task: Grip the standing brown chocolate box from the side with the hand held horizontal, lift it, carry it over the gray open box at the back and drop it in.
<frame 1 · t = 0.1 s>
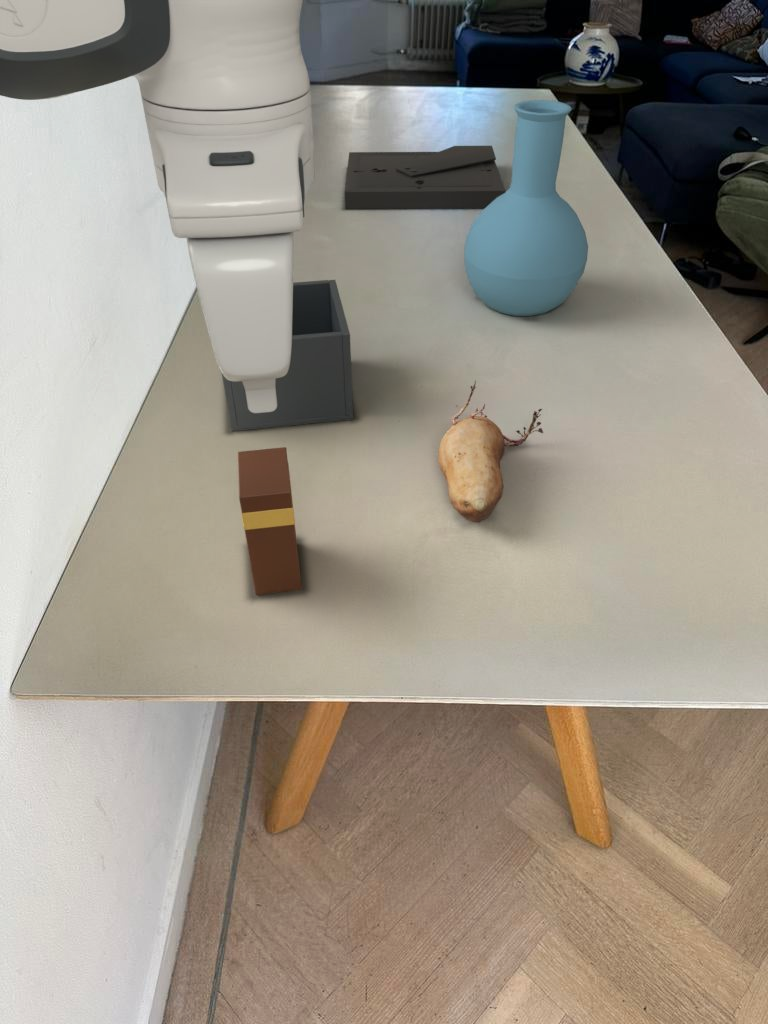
hand: (260, 368, 51), 22 cm above the table, tool pointing down, fingers open, 8 cm apart
vase: (519, 301, 108), on the table
chocolate box: (276, 568, 68), on the table
vegetable: (491, 488, 76), on the table
gray open box: (288, 393, 90), on the table
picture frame: (422, 188, 145), on the table
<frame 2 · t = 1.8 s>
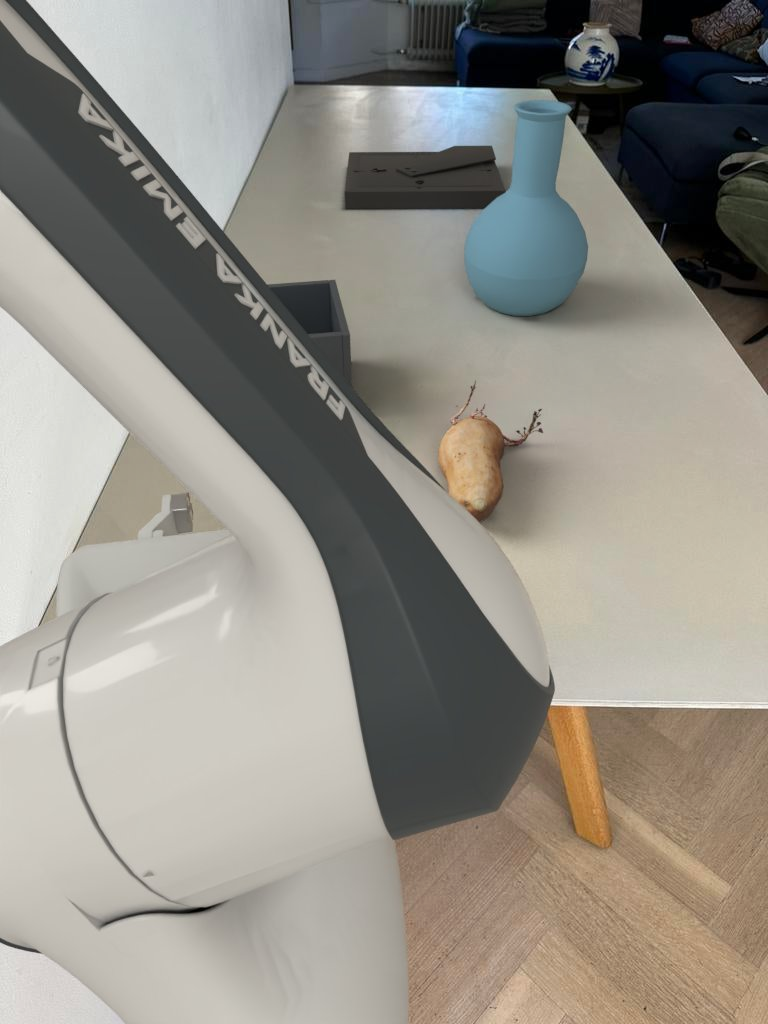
hand: (258, 493, 45), 19 cm above the table, tool horizontal, fingers open, 8 cm apart
nothing on the table moved.
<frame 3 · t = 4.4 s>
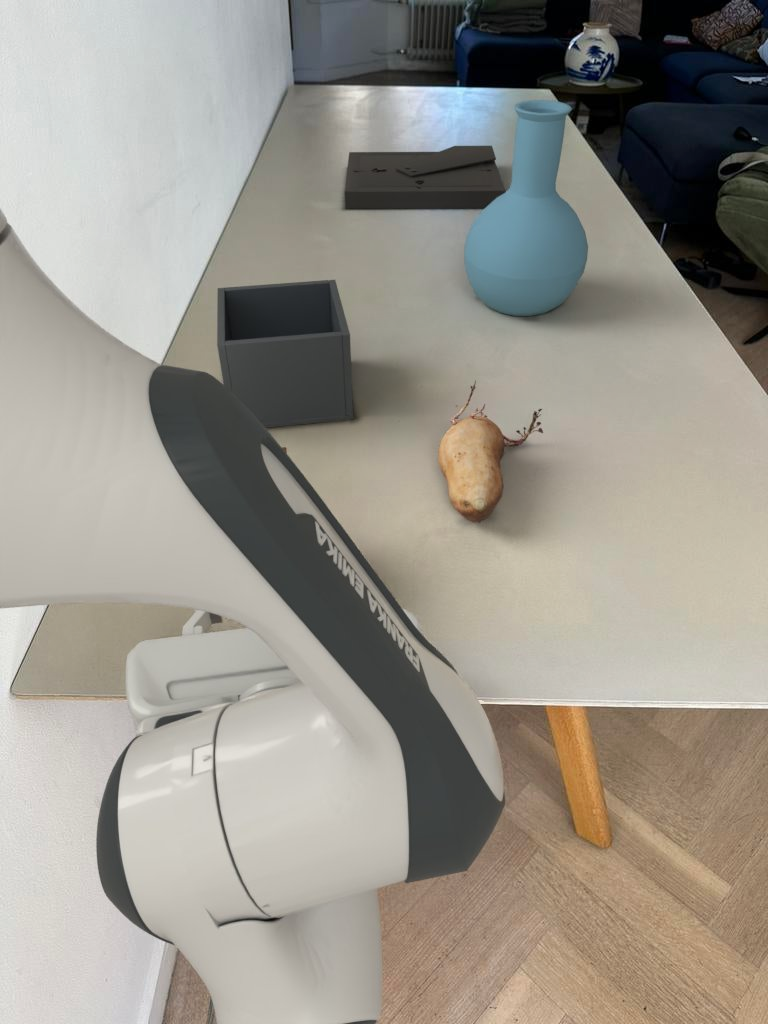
hand: (274, 590, 58), 6 cm above the table, tool horizontal, fingers open, 8 cm apart
nothing on the table moved.
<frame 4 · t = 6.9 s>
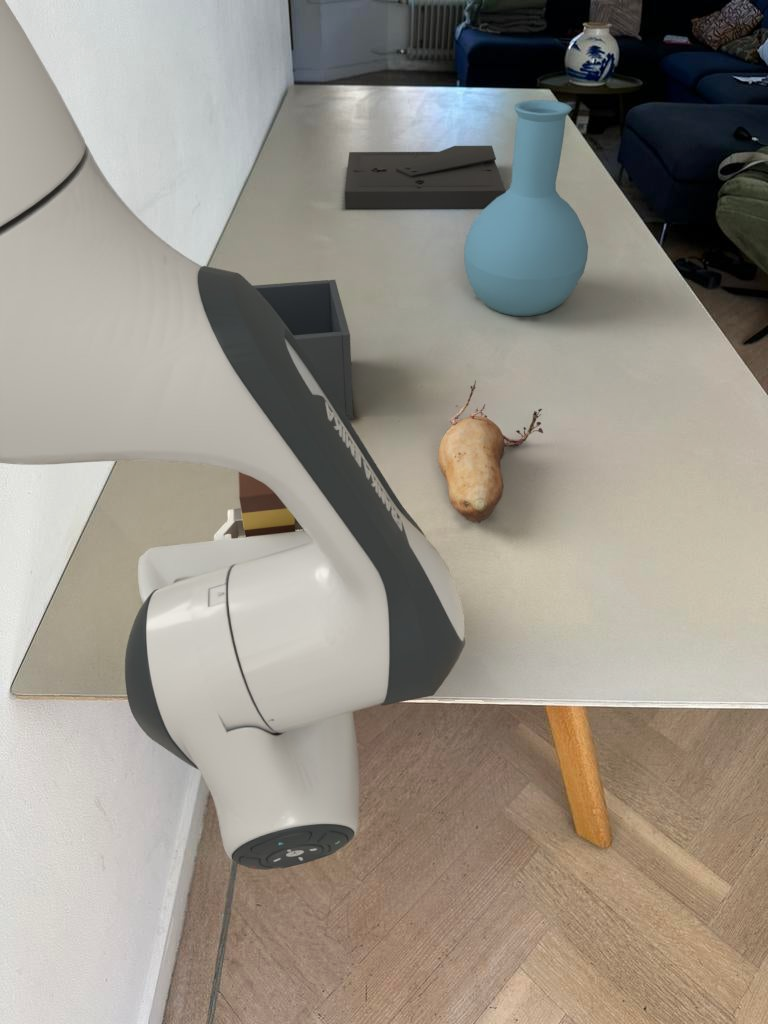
hand: (269, 510, 64), 6 cm above the table, tool horizontal, fingers closed on chocolate box, 4 cm apart
chocolate box: (277, 568, 68), on the table, touching gripper
everything else where it was.
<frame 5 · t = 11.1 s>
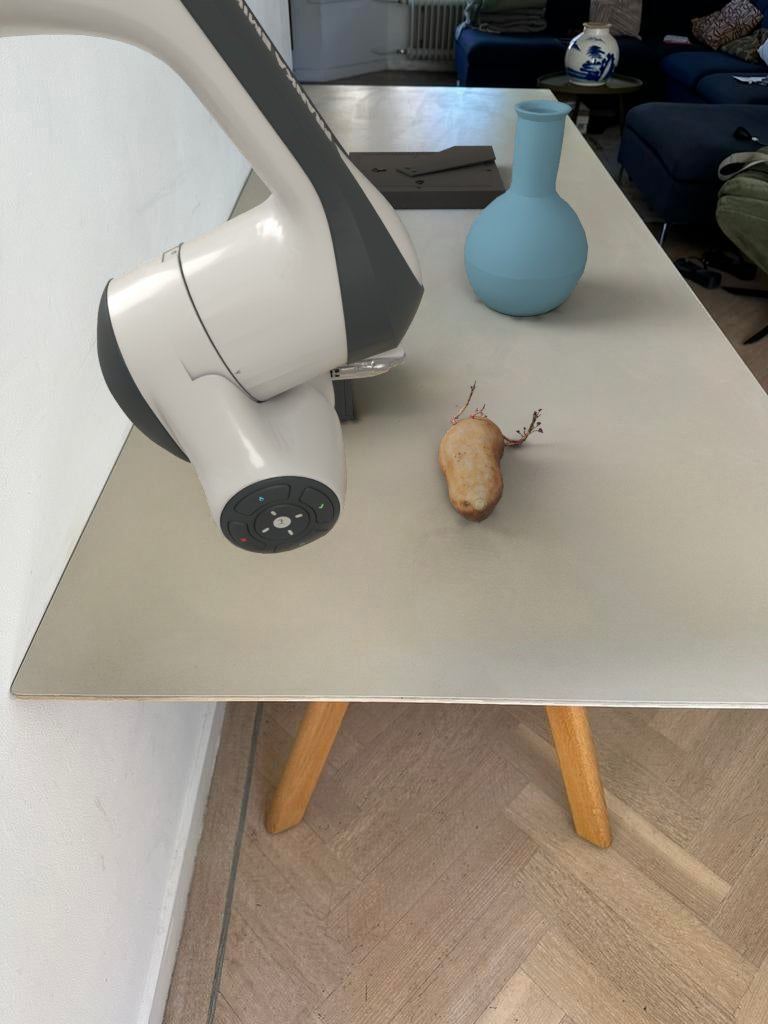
hand: (262, 297, 66), 19 cm above the table, tool horizontal, fingers closed on chocolate box, 4 cm apart
chocolate box: (270, 363, 69), point 13 cm above the table, touching gripper
everything else where it was.
when the fingers open (15 cm above the table, at t = 15.3 s): chocolate box drops 8 cm, resting on gray open box.
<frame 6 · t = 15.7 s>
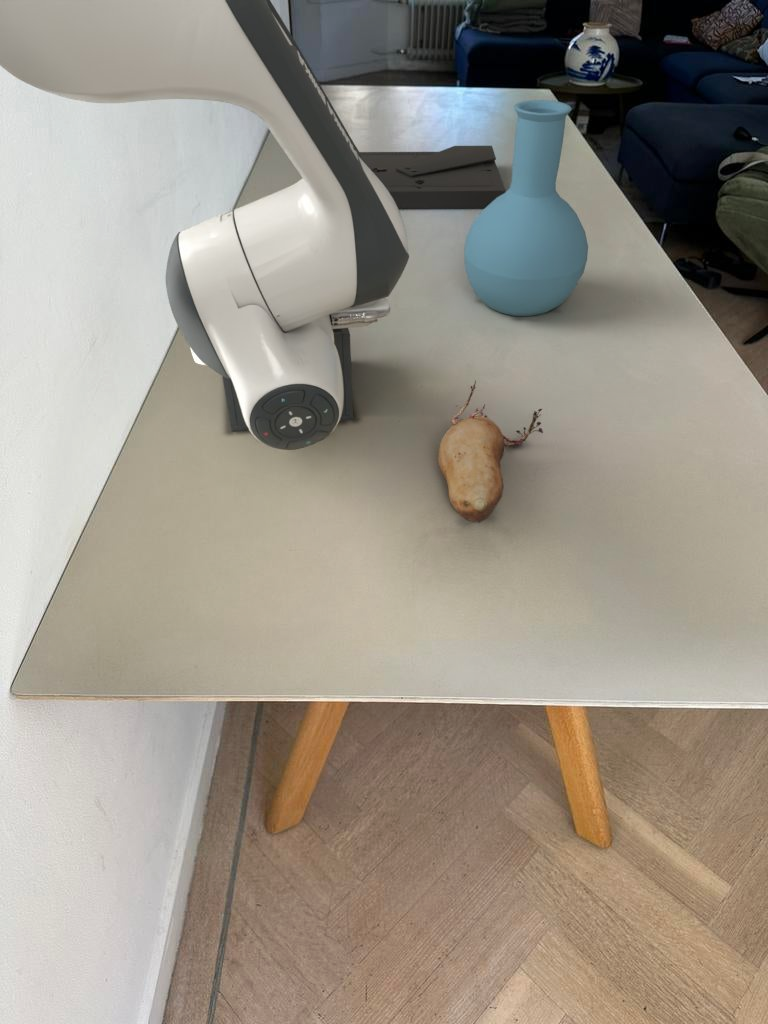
hand: (274, 265, 80), 15 cm above the table, tool horizontal, fingers open, 8 cm apart
chocolate box: (288, 388, 89), point 1 cm above the table, touching gray open box
everything else where it was.
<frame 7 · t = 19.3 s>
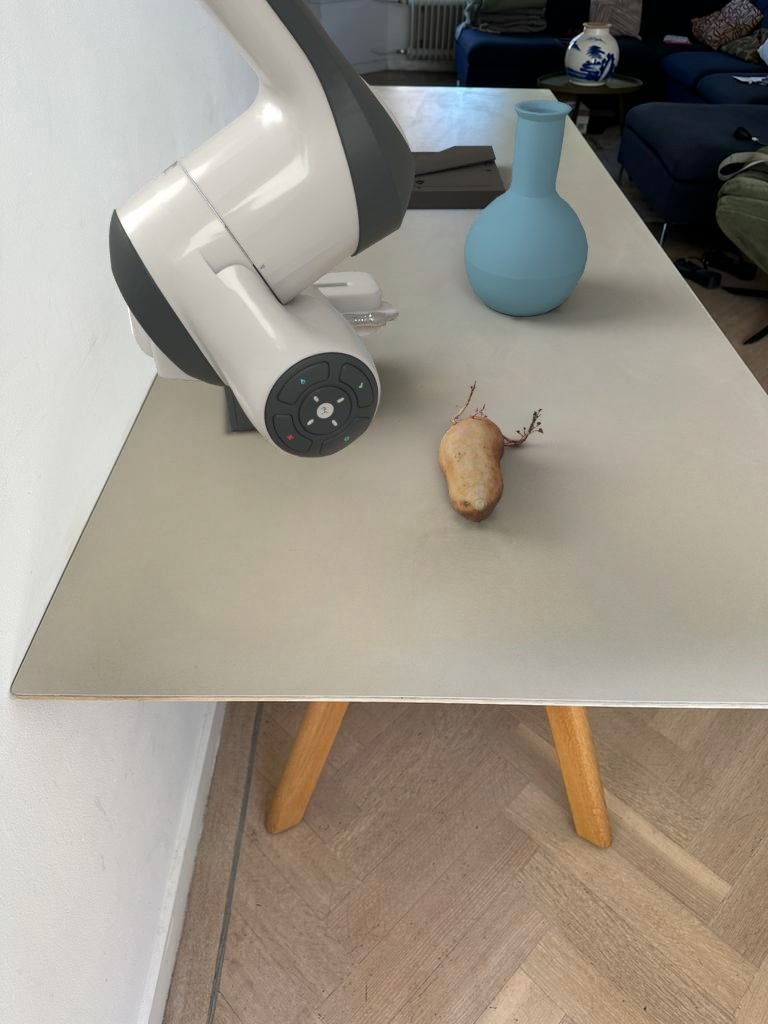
hand: (244, 282, 67), 19 cm above the table, tool horizontal, fingers open, 8 cm apart
nothing on the table moved.
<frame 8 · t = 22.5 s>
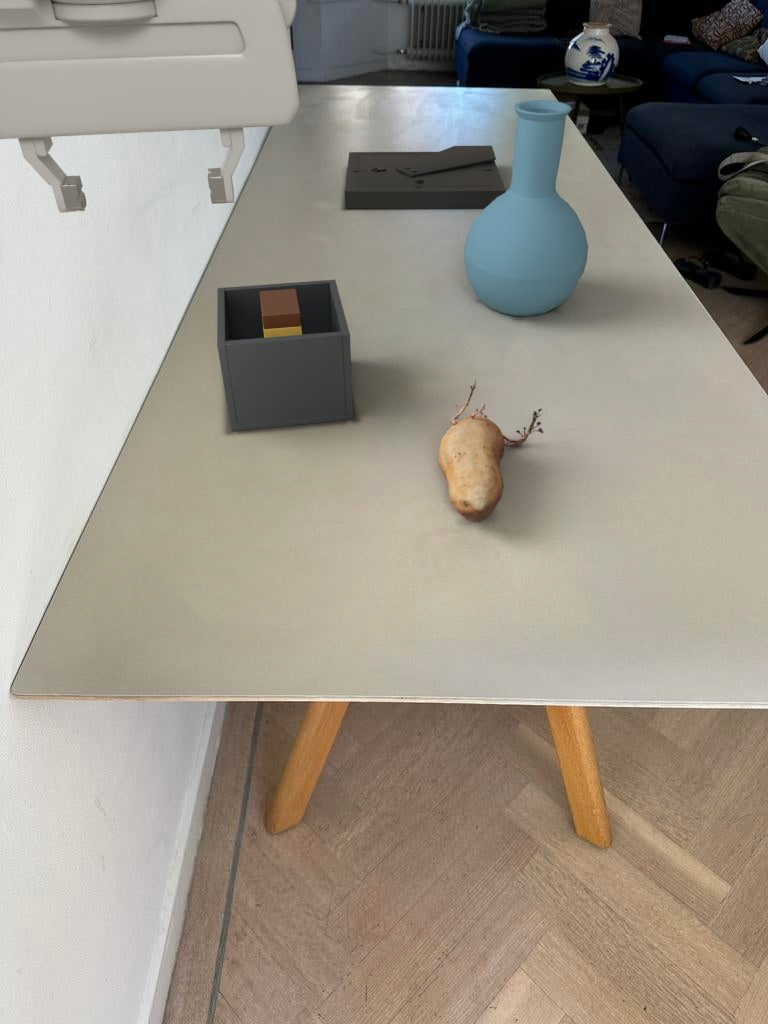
hand: (149, 205, 49), 31 cm above the table, tool pointing down, fingers open, 8 cm apart
nothing on the table moved.
at the end: chocolate box inside the target area in the gray open box (0.0 cm from its centre), point 0.6 cm above the gray open box's base; the gripper is holding nothing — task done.
